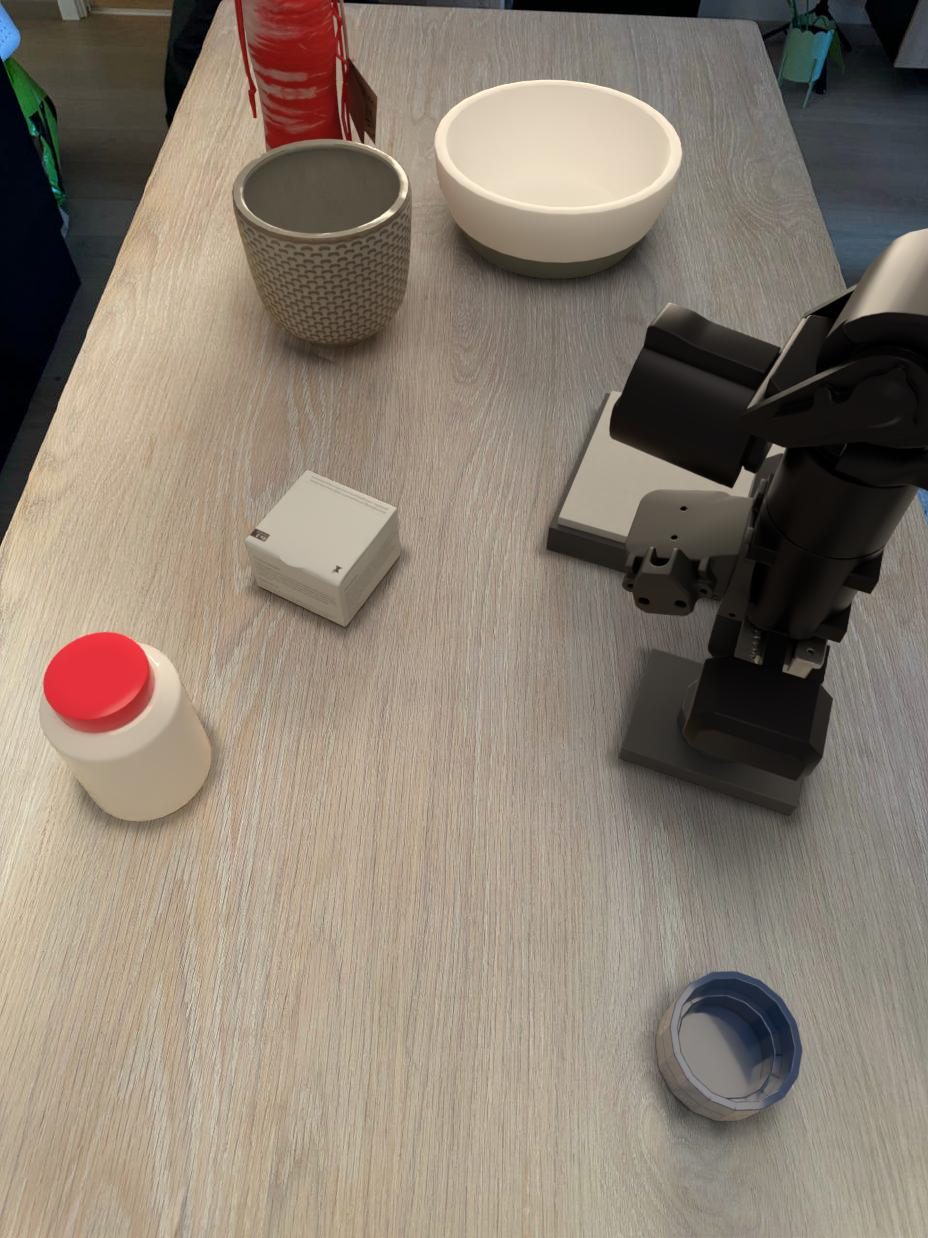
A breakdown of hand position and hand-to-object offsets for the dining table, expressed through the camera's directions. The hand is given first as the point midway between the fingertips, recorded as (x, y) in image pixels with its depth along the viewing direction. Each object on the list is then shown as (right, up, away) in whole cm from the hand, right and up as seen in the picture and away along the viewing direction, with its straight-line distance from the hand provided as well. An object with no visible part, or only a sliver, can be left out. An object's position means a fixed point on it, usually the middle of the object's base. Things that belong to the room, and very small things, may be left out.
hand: (742, 683), depth 56 cm
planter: (-28, +30, +28) cm, 49 cm away
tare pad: (0, -4, +5) cm, 6 cm away
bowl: (-8, +42, +37) cm, 56 cm away
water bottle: (-30, +44, +37) cm, 65 cm away
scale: (0, +12, +16) cm, 20 cm away
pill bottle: (-36, -5, +4) cm, 37 cm away
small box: (-26, +7, +13) cm, 30 cm away
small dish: (-3, -19, -5) cm, 20 cm away
